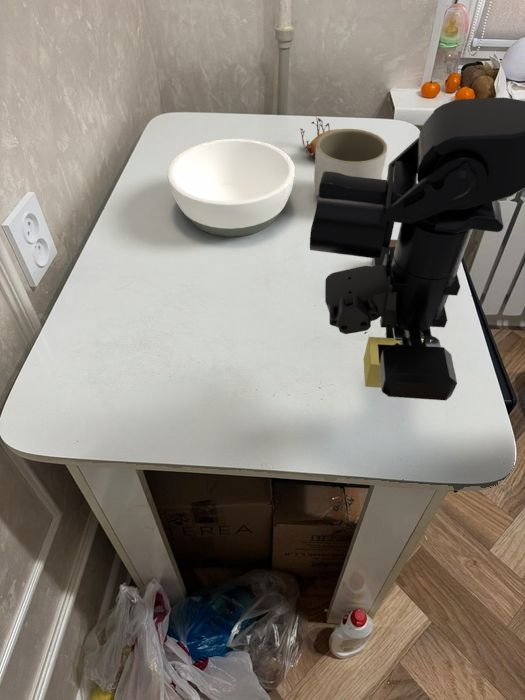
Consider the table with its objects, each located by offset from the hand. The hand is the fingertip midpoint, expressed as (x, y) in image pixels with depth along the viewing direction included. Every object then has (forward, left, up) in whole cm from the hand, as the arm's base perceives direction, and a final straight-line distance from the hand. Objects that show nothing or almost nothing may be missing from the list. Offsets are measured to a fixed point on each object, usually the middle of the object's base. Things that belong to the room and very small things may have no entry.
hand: (392, 368), depth 56 cm
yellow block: (0, 0, -1) cm, 1 cm away
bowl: (+34, -37, -10) cm, 52 cm away
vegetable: (+20, -64, -10) cm, 68 cm away
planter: (+15, -47, -10) cm, 51 cm away
